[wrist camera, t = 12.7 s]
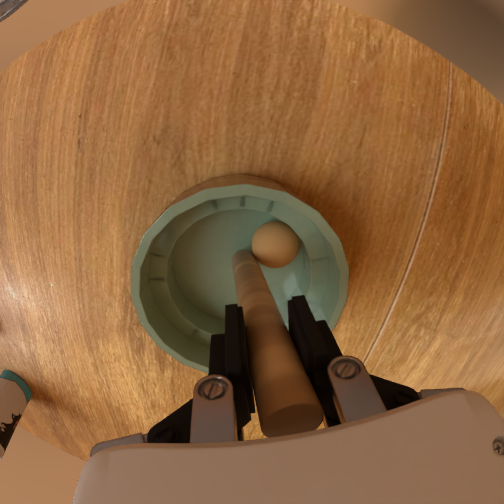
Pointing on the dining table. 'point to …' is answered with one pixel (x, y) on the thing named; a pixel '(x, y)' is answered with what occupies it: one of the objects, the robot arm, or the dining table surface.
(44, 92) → the dining table surface
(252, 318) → the stick
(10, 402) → the printed cylindrical canister
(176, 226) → the bowl
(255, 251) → the dough ball
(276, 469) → the robot arm
